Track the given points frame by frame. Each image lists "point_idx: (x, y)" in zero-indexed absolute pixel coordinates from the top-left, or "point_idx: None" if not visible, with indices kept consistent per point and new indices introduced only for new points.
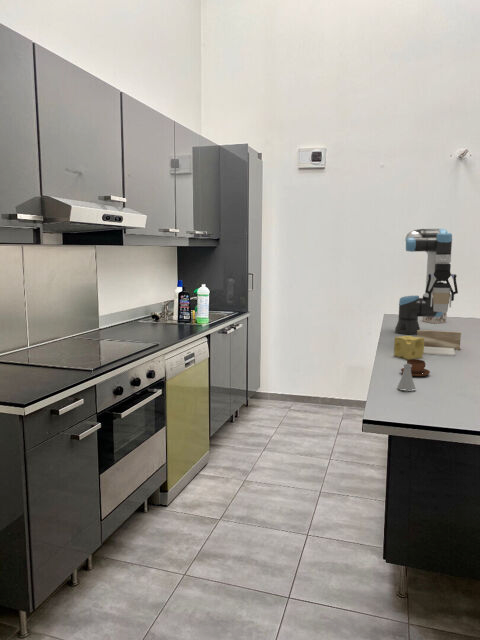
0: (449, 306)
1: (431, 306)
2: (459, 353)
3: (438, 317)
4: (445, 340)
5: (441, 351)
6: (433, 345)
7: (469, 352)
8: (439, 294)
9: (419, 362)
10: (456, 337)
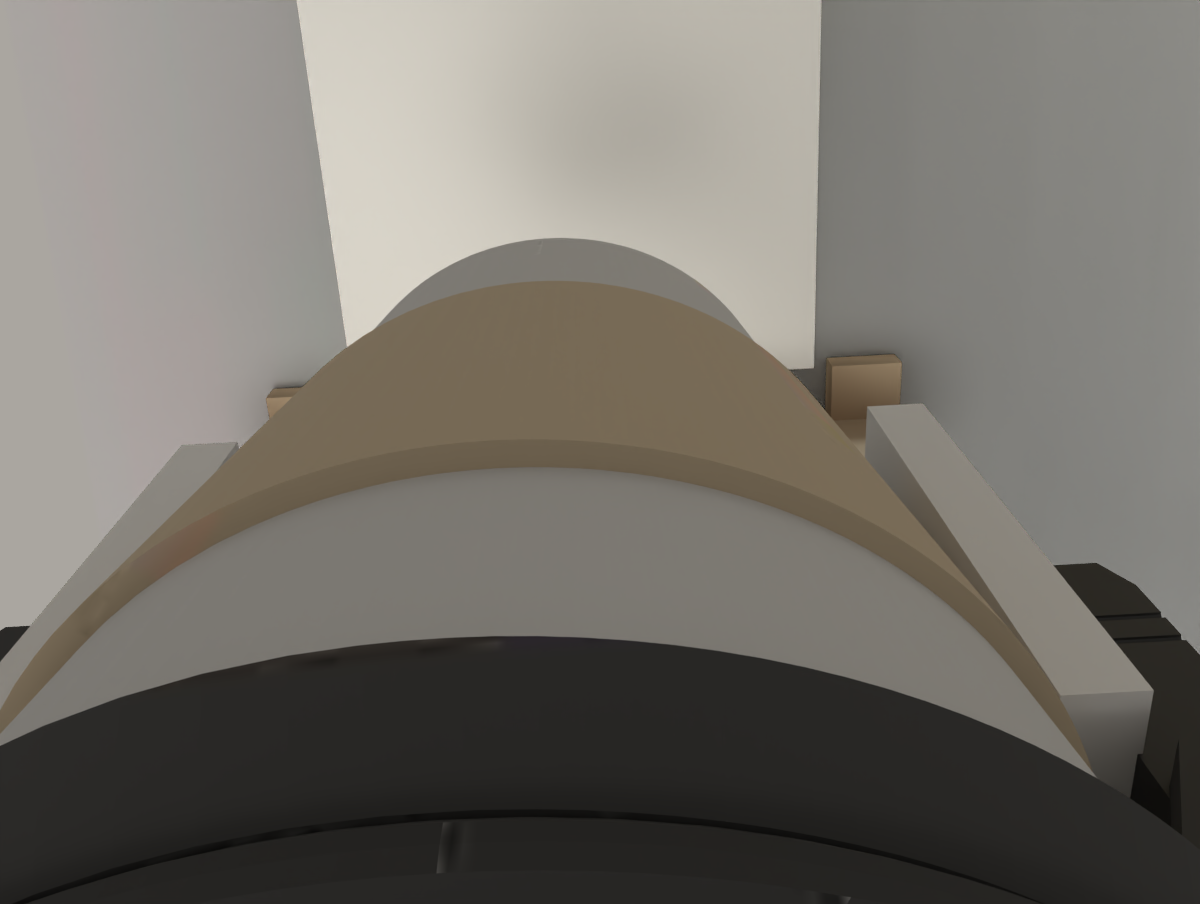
0: (226, 457)
1: (887, 408)
2: (248, 132)
3: None
4: None
5: (510, 48)
6: None
7: (124, 273)
8: (635, 402)
9: None
10: None
